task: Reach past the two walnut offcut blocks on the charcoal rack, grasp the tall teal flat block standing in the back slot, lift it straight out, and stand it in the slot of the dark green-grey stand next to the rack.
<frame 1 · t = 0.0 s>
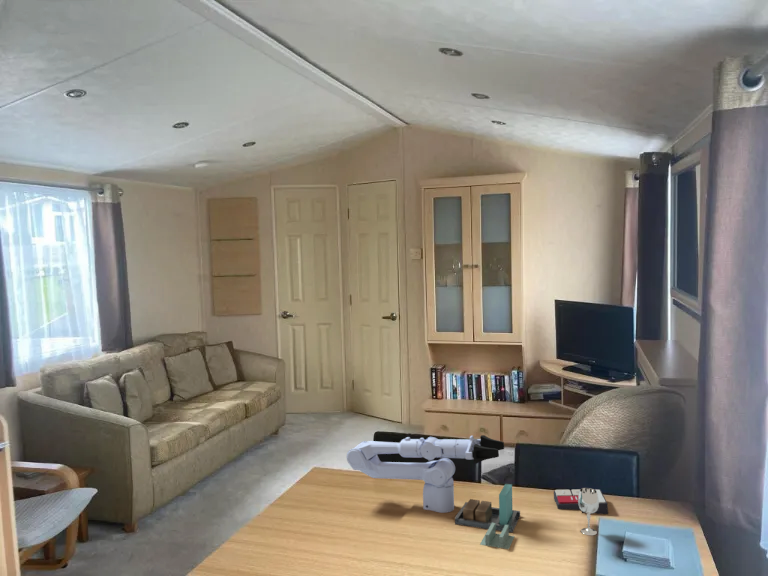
hand: (501, 449, 182), 22 cm above the table, tool horizontal, fingers open, 7 cm apart
teal flat block: (506, 522, 178), point 1 cm above the table, touching rack
offcut a: (471, 517, 183), point 1 cm above the table, touching rack
offcut b: (483, 519, 181), point 1 cm above the table, touching rack
stand: (497, 543, 168), on the table
wineglass: (588, 532, 173), on the table
rack: (489, 523, 181), on the table
calculator: (580, 507, 191), on the table
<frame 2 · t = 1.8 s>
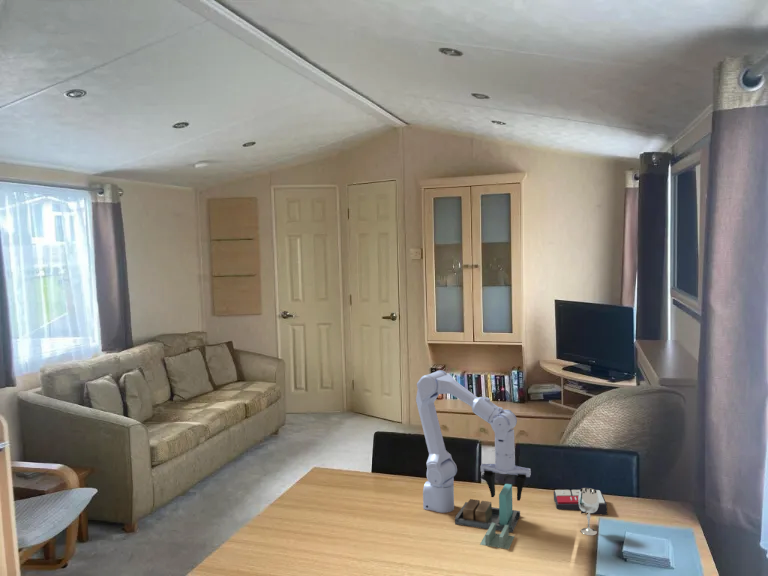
hand: (505, 497, 178), 9 cm above the table, tool pointing down, fingers open, 7 cm apart
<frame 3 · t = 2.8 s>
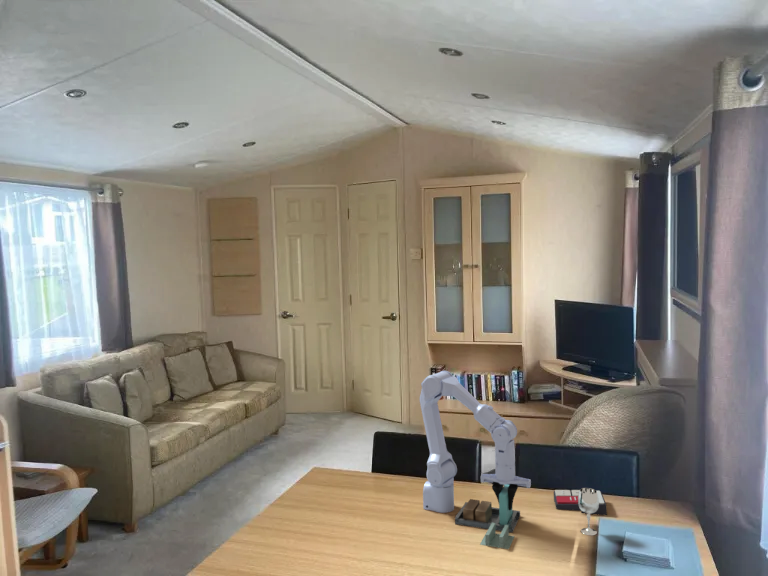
hand: (505, 508, 178), 5 cm above the table, tool pointing down, fingers closed on teal flat block, 2 cm apart
teal flat block: (506, 522, 178), point 1 cm above the table, touching gripper, rack
everything else where it was.
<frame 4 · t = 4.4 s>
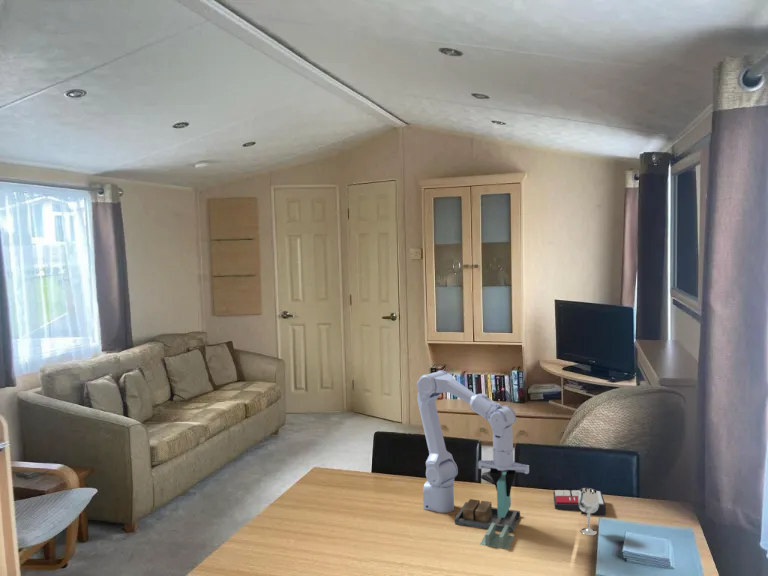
hand: (503, 494, 176), 10 cm above the table, tool pointing down, fingers closed on teal flat block
teal flat block: (504, 511, 176), point 6 cm above the table, touching gripper
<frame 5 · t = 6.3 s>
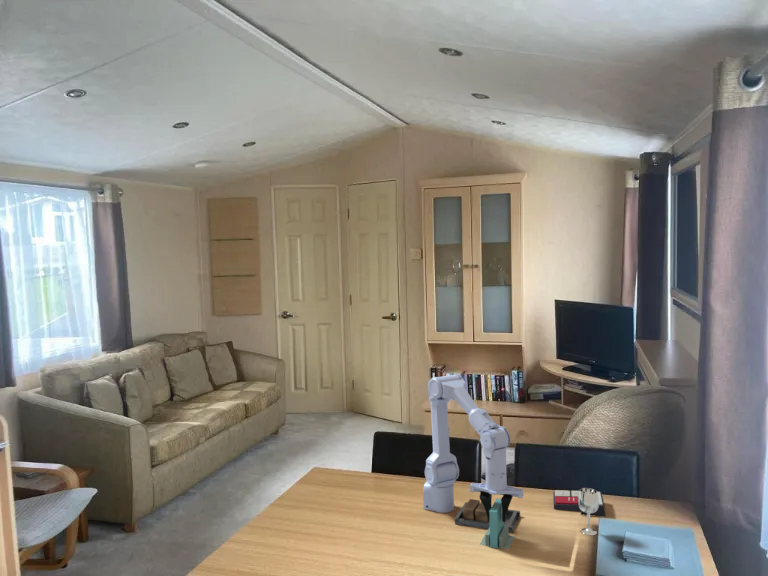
hand: (496, 519, 167), 7 cm above the table, tool pointing down, fingers open, 3 cm apart
teal flat block: (497, 540, 167), point 1 cm above the table, touching stand
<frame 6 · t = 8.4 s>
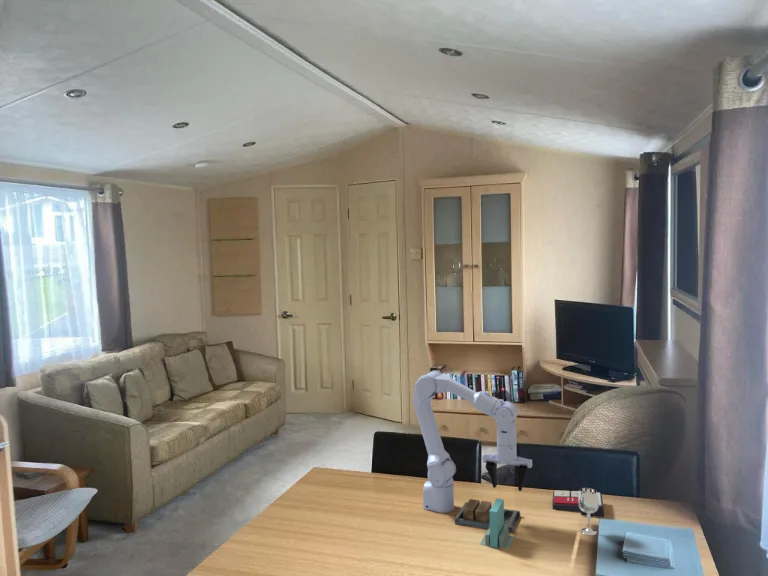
hand: (507, 488, 181), 10 cm above the table, tool pointing down, fingers open, 7 cm apart
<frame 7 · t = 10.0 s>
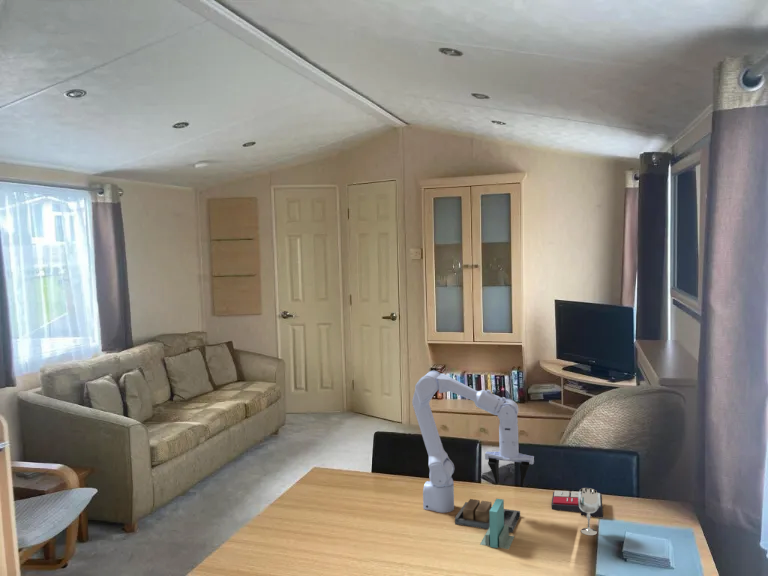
hand: (509, 484, 184), 10 cm above the table, tool pointing down, fingers open, 7 cm apart
at the end: teal flat block 0.0 cm off-centre on the stand, point 1.0 cm above the stand's base; teal flat block tilted 0°; offcut b moved 0.0 cm from its start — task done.
